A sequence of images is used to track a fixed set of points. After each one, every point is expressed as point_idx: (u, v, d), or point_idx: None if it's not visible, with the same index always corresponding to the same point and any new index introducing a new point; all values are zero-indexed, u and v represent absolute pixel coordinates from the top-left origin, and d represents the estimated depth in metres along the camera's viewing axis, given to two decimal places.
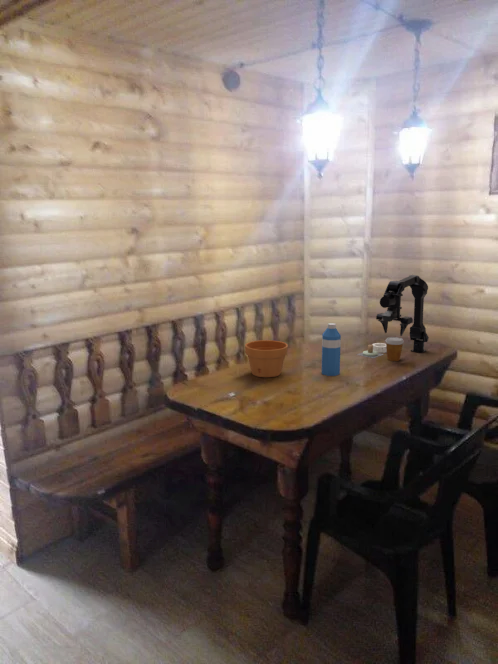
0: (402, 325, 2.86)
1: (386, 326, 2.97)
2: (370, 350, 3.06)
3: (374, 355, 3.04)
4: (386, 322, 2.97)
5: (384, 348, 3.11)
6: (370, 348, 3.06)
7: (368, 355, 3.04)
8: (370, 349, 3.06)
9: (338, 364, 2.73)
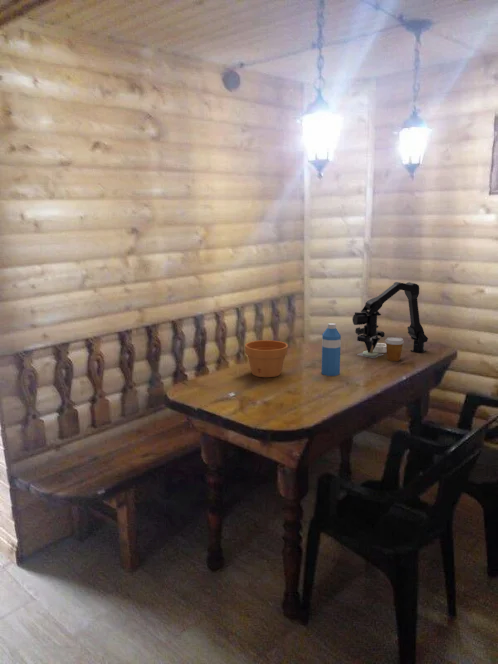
0: None
1: (373, 344, 3.07)
2: (370, 350, 3.06)
3: (374, 355, 3.04)
4: (374, 341, 3.07)
5: (384, 348, 3.11)
6: None
7: (368, 355, 3.04)
8: None
9: (338, 364, 2.73)
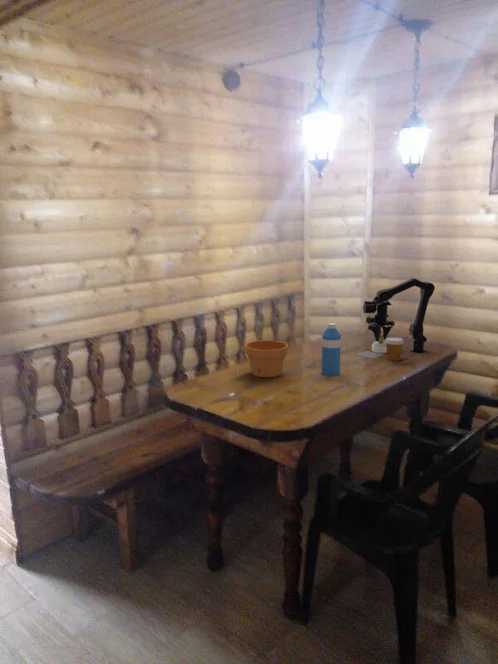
0: None
1: (385, 333, 3.16)
2: (380, 341, 3.13)
3: (384, 345, 3.11)
4: (386, 329, 3.15)
5: (384, 348, 3.11)
6: (380, 339, 3.13)
7: (379, 345, 3.11)
8: (380, 340, 3.13)
9: (338, 364, 2.73)
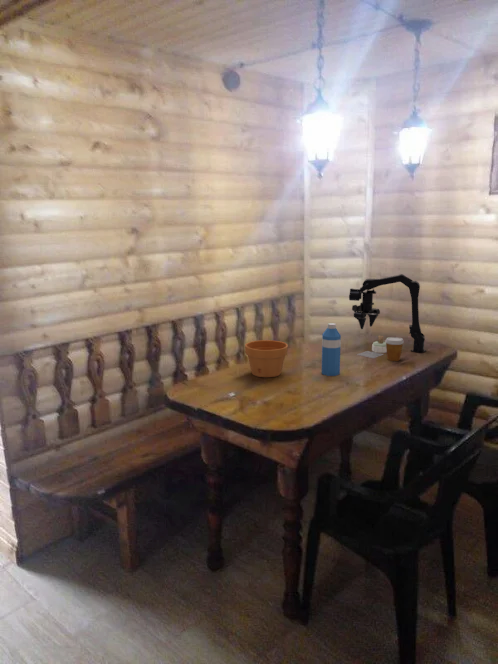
0: None
1: (371, 320, 3.24)
2: (380, 341, 3.13)
3: (384, 345, 3.11)
4: (372, 317, 3.24)
5: (384, 348, 3.11)
6: (380, 339, 3.13)
7: (379, 345, 3.11)
8: (380, 340, 3.13)
9: (338, 364, 2.73)
